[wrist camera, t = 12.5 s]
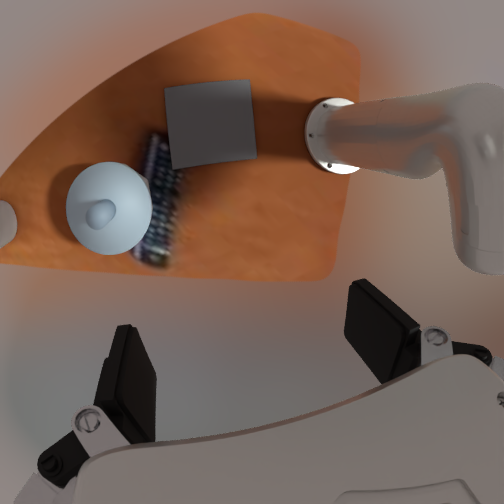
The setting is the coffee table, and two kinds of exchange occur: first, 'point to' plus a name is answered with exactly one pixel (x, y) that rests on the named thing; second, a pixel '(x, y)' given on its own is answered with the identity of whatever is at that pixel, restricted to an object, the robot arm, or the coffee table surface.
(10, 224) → the can
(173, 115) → the mat
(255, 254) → the coffee table surface
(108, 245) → the lid
